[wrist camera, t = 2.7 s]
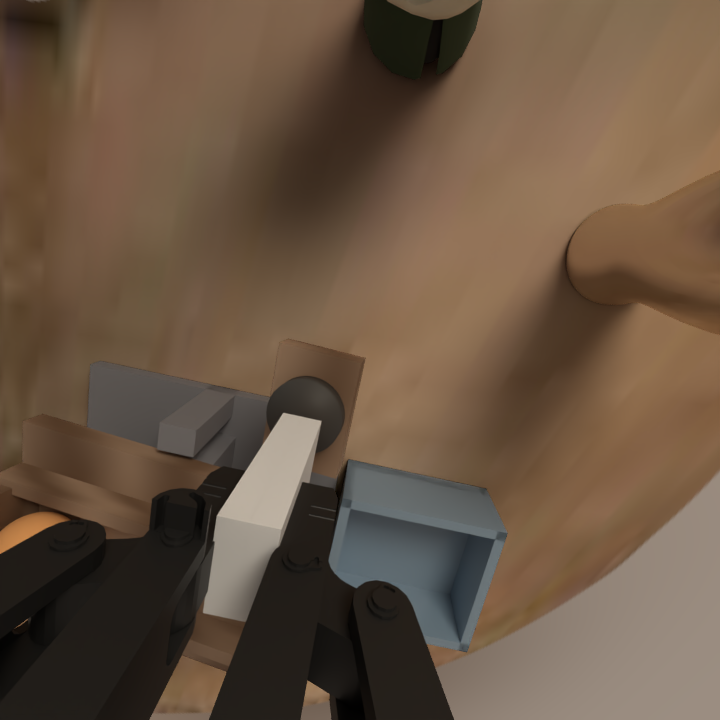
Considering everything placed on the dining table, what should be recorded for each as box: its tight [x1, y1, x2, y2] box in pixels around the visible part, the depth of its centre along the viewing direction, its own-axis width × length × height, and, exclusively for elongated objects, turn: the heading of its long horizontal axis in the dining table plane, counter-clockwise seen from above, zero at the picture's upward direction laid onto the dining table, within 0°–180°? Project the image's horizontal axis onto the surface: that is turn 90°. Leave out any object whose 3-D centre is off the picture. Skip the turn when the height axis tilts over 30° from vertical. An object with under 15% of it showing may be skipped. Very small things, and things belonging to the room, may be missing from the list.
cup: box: [328, 459, 508, 652], centre depth 28 cm, size 10×9×5 cm
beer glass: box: [566, 170, 720, 335], centre depth 18 cm, size 7×7×15 cm
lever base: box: [87, 361, 338, 491], centre depth 27 cm, size 18×16×7 cm
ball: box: [0, 512, 71, 554], centre depth 22 cm, size 4×4×4 cm
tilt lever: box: [0, 339, 366, 672], centre depth 22 cm, size 18×20×6 cm
